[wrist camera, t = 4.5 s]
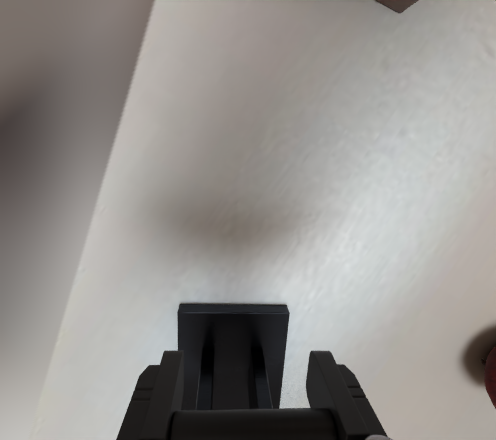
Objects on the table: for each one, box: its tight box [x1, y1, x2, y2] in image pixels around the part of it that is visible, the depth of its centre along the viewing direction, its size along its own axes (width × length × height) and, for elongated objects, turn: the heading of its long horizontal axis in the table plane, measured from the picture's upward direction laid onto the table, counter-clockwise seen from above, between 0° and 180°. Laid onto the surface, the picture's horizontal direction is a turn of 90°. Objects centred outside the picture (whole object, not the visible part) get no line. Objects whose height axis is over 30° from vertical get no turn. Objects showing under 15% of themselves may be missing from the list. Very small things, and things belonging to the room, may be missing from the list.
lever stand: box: [178, 304, 289, 410], centre depth 20 cm, size 11×9×13 cm
